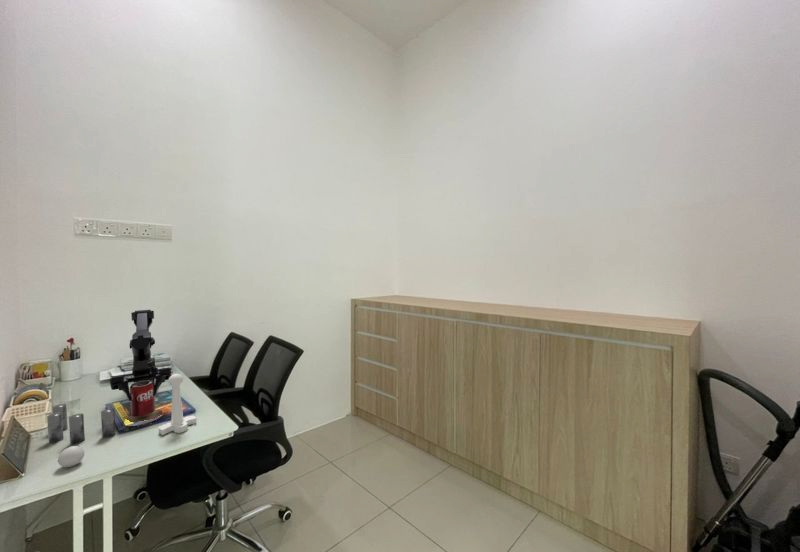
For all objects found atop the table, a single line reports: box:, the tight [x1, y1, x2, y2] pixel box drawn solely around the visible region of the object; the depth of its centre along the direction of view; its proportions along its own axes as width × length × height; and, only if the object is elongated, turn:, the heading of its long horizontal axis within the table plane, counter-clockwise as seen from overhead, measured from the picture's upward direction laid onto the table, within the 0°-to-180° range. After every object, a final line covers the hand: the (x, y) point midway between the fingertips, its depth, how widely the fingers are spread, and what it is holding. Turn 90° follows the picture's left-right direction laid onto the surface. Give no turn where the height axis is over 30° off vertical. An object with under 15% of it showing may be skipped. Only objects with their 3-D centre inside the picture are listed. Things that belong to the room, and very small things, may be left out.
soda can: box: [129, 380, 156, 417], centre depth 125 cm, size 7×7×12 cm
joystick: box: [158, 373, 198, 436], centre depth 117 cm, size 11×8×20 cm
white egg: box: [55, 445, 85, 468], centre depth 96 cm, size 8×6×6 cm
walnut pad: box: [125, 409, 164, 422], centre depth 125 cm, size 12×12×1 cm
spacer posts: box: [46, 403, 117, 446], centre depth 112 cm, size 9×25×9 cm, turn 79°
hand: (142, 398), depth 124 cm, fingers closed on soda can, 7 cm apart
